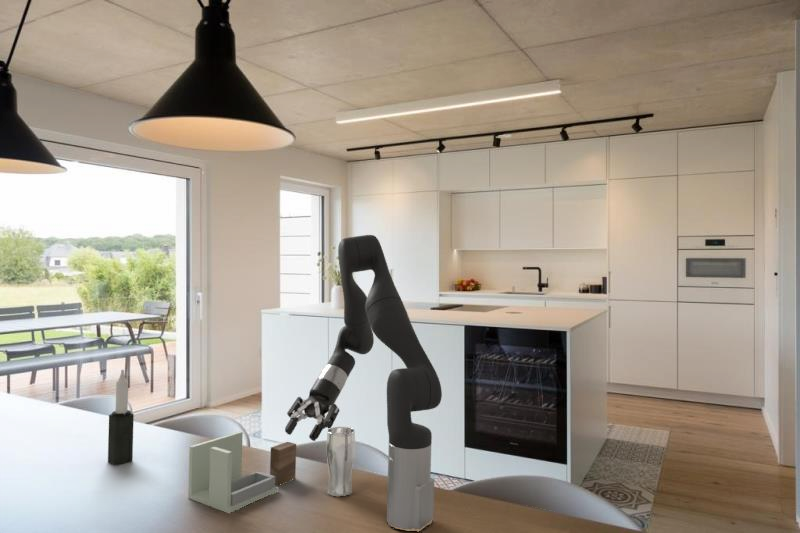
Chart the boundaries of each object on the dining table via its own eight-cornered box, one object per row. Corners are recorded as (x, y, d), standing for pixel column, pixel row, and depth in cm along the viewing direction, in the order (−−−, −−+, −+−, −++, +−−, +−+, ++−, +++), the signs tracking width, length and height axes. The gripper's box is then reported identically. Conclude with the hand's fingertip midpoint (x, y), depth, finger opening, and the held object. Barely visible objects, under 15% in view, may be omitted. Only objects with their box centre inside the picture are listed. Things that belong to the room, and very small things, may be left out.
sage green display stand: (278, 491, 137) (279, 437, 137) (229, 513, 125) (230, 454, 125) (238, 478, 145) (239, 427, 145) (188, 498, 132) (189, 442, 132)
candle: (115, 466, 151) (117, 372, 151) (106, 461, 154) (108, 369, 154) (134, 461, 155) (136, 369, 155) (124, 456, 158) (127, 367, 158)
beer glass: (327, 499, 134) (329, 435, 134) (323, 488, 140) (324, 427, 140) (356, 496, 135) (358, 433, 135) (351, 485, 142) (352, 425, 142)
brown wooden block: (295, 479, 146) (296, 443, 146) (278, 486, 141) (279, 449, 141) (286, 476, 147) (287, 441, 147) (269, 483, 142) (270, 447, 142)
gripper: (303, 373, 160) (272, 423, 150) (343, 380, 152) (313, 433, 143) (315, 389, 164) (286, 438, 155) (354, 396, 157) (326, 449, 147)
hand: (299, 436), depth 149 cm, fingers open, 8 cm apart
